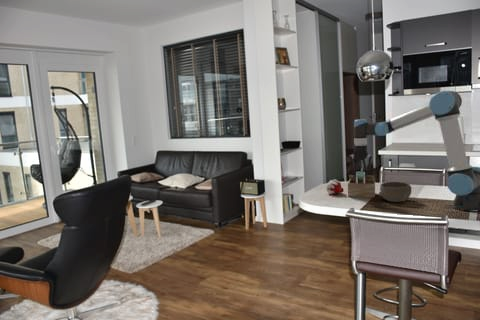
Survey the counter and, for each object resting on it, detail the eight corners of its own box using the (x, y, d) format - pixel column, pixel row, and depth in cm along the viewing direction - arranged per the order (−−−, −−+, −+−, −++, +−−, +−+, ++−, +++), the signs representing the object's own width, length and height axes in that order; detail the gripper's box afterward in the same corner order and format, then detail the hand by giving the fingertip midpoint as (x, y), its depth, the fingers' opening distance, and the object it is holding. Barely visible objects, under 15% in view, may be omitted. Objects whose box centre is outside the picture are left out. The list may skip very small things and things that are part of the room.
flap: (373, 177, 236) (373, 171, 237) (347, 177, 241) (347, 171, 242) (374, 181, 256) (374, 176, 257) (350, 181, 262) (350, 175, 262)
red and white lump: (332, 189, 270) (348, 196, 257) (320, 192, 264) (336, 198, 251) (333, 177, 267) (350, 183, 255) (321, 179, 262) (337, 185, 249)
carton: (374, 197, 245) (374, 183, 244) (347, 196, 250) (347, 183, 249) (375, 192, 258) (375, 179, 257) (349, 191, 263) (349, 178, 262)
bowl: (375, 201, 236) (375, 185, 234) (386, 195, 249) (386, 180, 248) (405, 205, 225) (405, 188, 223) (414, 199, 238) (415, 183, 237)
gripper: (375, 144, 239) (375, 182, 243) (346, 144, 245) (347, 181, 248) (375, 145, 232) (374, 184, 236) (345, 145, 238) (346, 183, 241)
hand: (360, 182), depth 242 cm, fingers closed on flap, 4 cm apart
